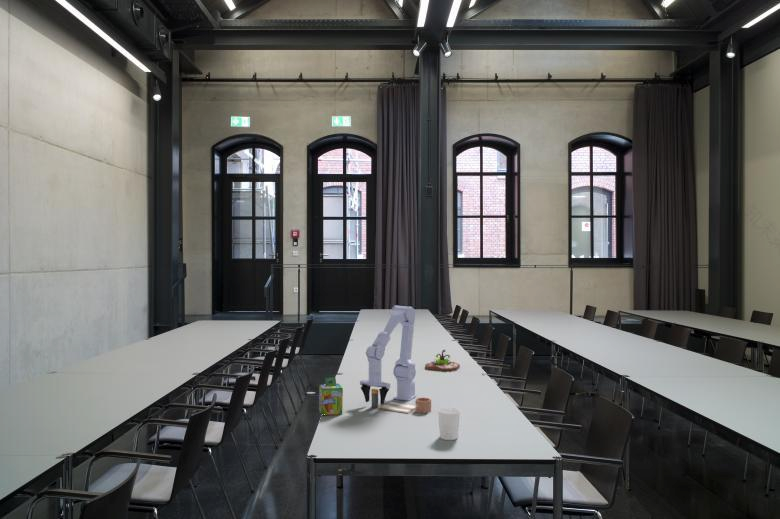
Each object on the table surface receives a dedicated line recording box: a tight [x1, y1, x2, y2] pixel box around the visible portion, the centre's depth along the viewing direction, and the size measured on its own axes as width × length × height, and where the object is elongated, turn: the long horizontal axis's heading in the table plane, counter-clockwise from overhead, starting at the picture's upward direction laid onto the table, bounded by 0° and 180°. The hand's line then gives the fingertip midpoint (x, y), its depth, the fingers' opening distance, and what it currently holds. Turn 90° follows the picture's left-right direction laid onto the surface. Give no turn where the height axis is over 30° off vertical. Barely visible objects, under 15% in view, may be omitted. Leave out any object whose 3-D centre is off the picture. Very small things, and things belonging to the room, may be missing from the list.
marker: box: [370, 388, 379, 409], centre depth 244 cm, size 3×3×8 cm
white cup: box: [438, 407, 461, 441], centre depth 204 cm, size 8×8×10 cm
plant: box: [424, 349, 461, 373], centre depth 329 cm, size 20×20×11 cm
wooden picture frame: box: [377, 401, 416, 414], centre depth 243 cm, size 12×15×1 cm
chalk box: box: [318, 377, 344, 417], centre depth 236 cm, size 9×9×15 cm
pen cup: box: [415, 397, 432, 414], centre depth 238 cm, size 6×6×5 cm
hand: (374, 402), depth 244 cm, fingers open, 7 cm apart
